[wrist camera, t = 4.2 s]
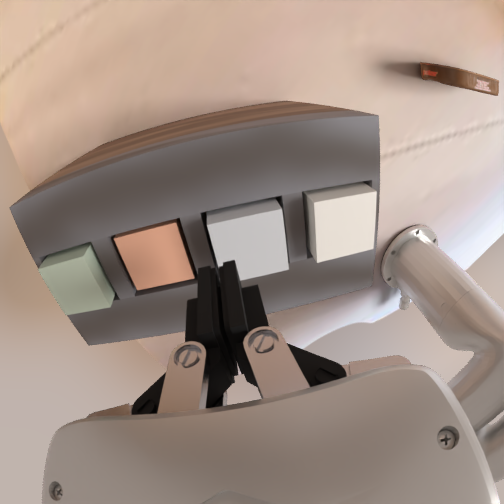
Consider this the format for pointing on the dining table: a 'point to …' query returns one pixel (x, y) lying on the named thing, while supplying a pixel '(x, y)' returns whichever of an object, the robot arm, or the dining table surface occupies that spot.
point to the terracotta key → (156, 254)
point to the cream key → (339, 220)
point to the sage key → (77, 279)
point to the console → (205, 204)
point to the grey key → (250, 237)
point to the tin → (459, 78)
